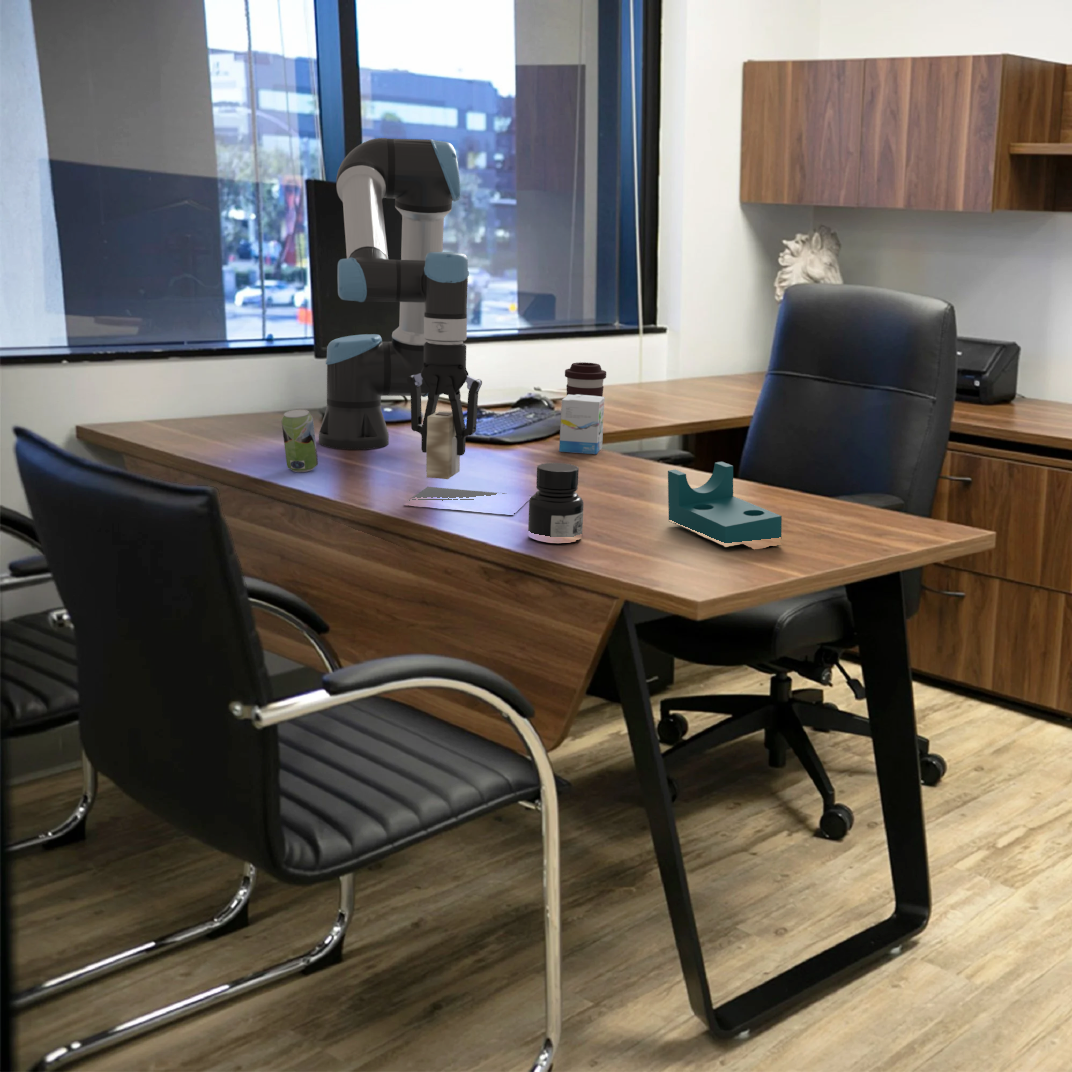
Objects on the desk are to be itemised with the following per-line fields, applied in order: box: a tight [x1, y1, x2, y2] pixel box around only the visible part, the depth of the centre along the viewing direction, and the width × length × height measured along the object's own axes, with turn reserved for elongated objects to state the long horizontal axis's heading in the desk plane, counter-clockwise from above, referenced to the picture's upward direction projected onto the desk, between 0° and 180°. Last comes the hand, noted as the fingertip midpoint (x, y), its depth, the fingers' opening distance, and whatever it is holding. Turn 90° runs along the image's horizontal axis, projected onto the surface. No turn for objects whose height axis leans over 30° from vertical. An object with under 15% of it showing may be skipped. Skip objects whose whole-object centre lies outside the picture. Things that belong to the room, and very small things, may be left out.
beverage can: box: [281, 408, 319, 473], centre depth 256 cm, size 6×7×12 cm
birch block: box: [426, 410, 456, 480], centre depth 235 cm, size 4×7×11 cm, turn 167°
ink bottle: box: [527, 462, 584, 537], centre depth 214 cm, size 10×9×12 cm
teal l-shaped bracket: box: [667, 461, 783, 543], centre depth 219 cm, size 18×11×10 cm, turn 25°
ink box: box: [558, 394, 606, 455], centre depth 287 cm, size 8×8×12 cm
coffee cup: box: [564, 361, 607, 397], centre depth 315 cm, size 10×10×15 cm
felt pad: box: [408, 486, 506, 501], centre depth 237 cm, size 20×14×1 cm
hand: (442, 471), depth 237 cm, fingers closed on birch block, 4 cm apart
